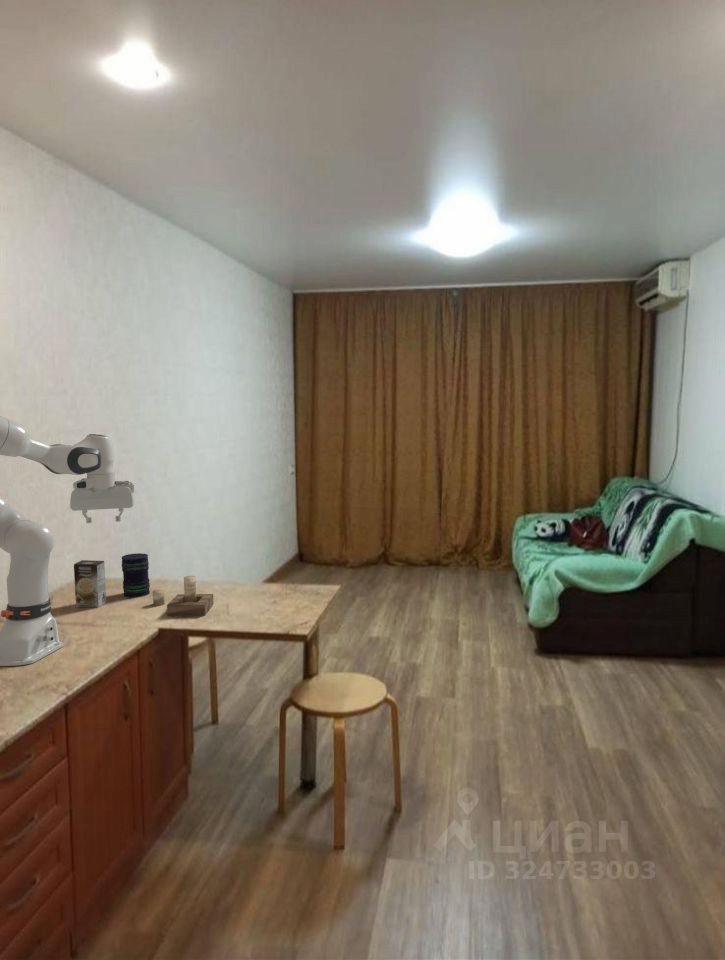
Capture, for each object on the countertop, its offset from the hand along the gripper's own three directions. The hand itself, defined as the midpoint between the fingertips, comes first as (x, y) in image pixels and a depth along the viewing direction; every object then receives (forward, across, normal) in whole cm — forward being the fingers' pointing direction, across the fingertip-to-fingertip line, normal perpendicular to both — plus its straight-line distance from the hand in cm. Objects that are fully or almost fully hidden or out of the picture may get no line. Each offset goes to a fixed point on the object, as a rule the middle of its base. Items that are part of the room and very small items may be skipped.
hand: (103, 522), depth 234 cm
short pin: (+33, -16, -10) cm, 38 cm away
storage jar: (+33, -7, -27) cm, 44 cm away
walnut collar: (+33, -28, +1) cm, 43 cm away
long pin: (+33, -28, +1) cm, 43 cm away
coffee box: (+33, +8, -17) cm, 38 cm away
